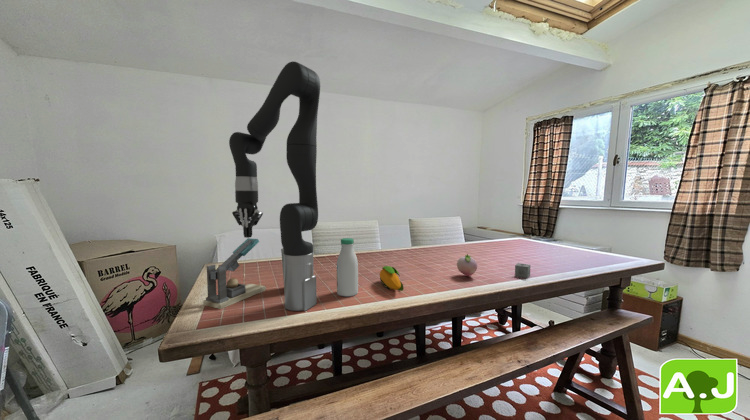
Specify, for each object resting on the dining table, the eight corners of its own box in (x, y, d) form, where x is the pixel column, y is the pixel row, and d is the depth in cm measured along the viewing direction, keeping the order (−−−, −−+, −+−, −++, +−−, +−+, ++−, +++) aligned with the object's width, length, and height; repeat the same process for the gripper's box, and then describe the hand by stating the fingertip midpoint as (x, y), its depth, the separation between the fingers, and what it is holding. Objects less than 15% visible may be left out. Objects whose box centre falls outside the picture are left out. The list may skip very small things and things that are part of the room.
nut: (241, 287, 98) (240, 277, 98) (232, 290, 95) (231, 280, 95) (233, 286, 100) (233, 276, 99) (224, 289, 96) (224, 279, 96)
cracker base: (265, 290, 106) (265, 256, 105) (220, 309, 89) (219, 269, 88) (249, 287, 109) (249, 254, 108) (203, 305, 92) (201, 266, 91)
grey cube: (530, 275, 125) (530, 264, 124) (527, 278, 121) (527, 267, 121) (517, 273, 128) (518, 263, 128) (514, 276, 124) (515, 265, 124)
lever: (259, 267, 105) (259, 238, 104) (218, 280, 89) (217, 246, 89) (249, 266, 107) (249, 238, 106) (207, 278, 91) (206, 245, 91)
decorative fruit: (455, 273, 129) (455, 251, 128) (473, 273, 127) (474, 252, 127) (458, 279, 119) (458, 256, 119) (478, 280, 118) (479, 256, 118)
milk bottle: (362, 293, 103) (362, 238, 102) (346, 298, 97) (346, 241, 96) (348, 288, 108) (348, 236, 107) (332, 293, 102) (332, 238, 101)
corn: (393, 261, 119) (408, 274, 100) (394, 279, 120) (410, 295, 100) (376, 263, 118) (388, 277, 98) (377, 281, 118) (390, 298, 99)
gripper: (268, 189, 103) (269, 237, 104) (241, 189, 108) (242, 234, 109) (252, 189, 96) (253, 240, 97) (224, 189, 101) (225, 237, 102)
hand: (247, 237), depth 103 cm, fingers closed
